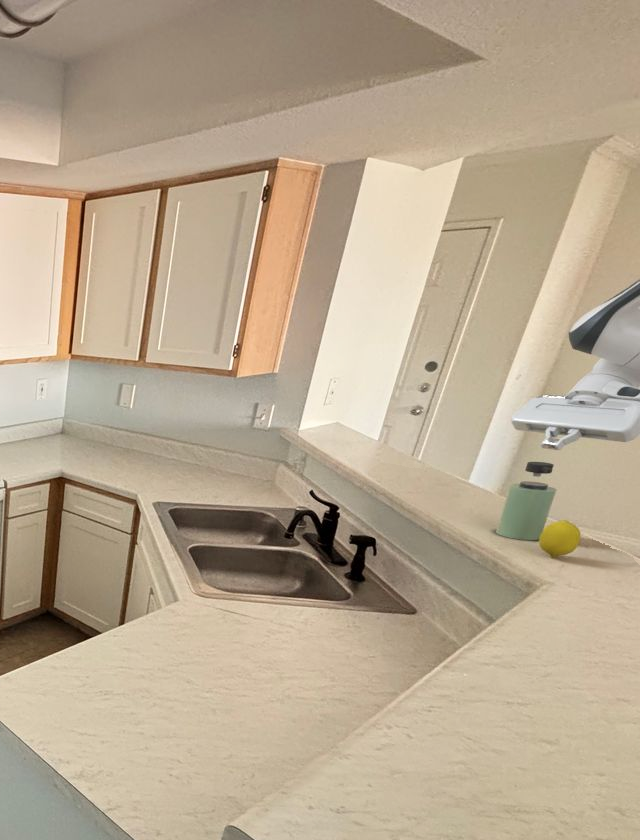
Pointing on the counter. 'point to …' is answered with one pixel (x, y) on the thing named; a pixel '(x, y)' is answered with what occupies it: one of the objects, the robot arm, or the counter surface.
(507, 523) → the soap bottle
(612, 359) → the robot arm
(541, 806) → the counter surface
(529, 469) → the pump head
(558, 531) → the lemon
